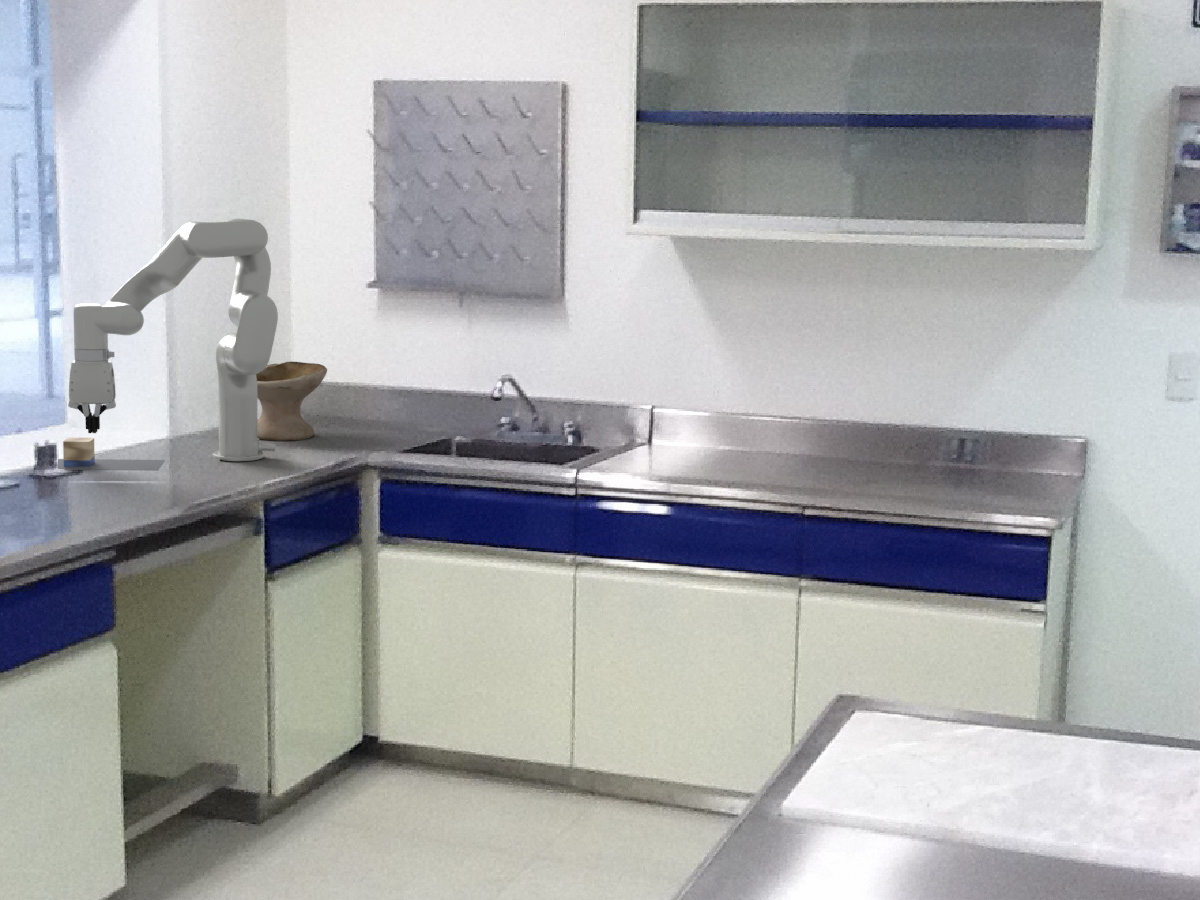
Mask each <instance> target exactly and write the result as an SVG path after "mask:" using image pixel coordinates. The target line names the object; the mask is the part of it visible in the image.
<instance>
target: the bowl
mask: <svg viewBox="0 0 1200 900" xmlns="http://www.w3.org/2000/svg"><path fill="white" fill-rule="evenodd" d="M327 373H328V368H327V367H326V366H325V365H323V364H320V363H314V362H313V363H311V362H300V361H285V362H280V363H271V364H270V363H269V364H267V366H266V367H265V369H264V370H263V371H261V372H260V373H258V374H256V377H257V388H258V397H257V400H259V402H260V405H261V413H260V417H259V418H257V438H259V440H266V441H284V442H285V441H288V442H293V441H295V442H296V441H301V440H307V439H311V438H312V437H315V430H314V428H313V427H312V426H311V425H310V424H309V423H308V422H306V420H305V419H304V418H303V416H302V415H301V406H302V403H303V401H304V400H305V398H306V397H308V396H309V395H310V394H311V393H312V392H315V390H316V389H317V388H318V387H319V386H320V385H321V384H322V382H323V380H324V379H325V377H326V376H327Z"/></svg>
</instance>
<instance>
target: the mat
mask: <svg viewBox="0 0 1200 900" xmlns="http://www.w3.org/2000/svg"><path fill="white" fill-rule="evenodd" d="M57 459H58V469H65V470H66V471H67V470H68V471H70V470H71V471H75V470H76V471H78V470H80V471H159V470H160V468H161V467H162V465H164V463H165V461H166V460H165V459H117V458H116V459H113V458H112V459H108V458H107V459H105V458H103V459H102V458H101V459H100V458H99V459H97V458H95V462H94V463H93V464H92V465H91V466H90V467H75V466H64V458H57ZM65 470H64V471H65Z"/></svg>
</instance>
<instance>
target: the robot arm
mask: <svg viewBox="0 0 1200 900" xmlns="http://www.w3.org/2000/svg"><path fill="white" fill-rule="evenodd" d="M268 241H269V234H268V231H267V229H266V227H265V225H263V224H262V223H261V222H259V221H257V220H254V219H246V218H232V219H230V220H227V221H219V222H218V221H215V222H214V221H213V222H209V221H208V222H206V221H205V222H204V221H189V222H185V224H183V225H182V226H181V227H180V228H179V229H177V231H176V232H175V233H174V234H173V235H172V236H171V237H170V238H169V240H168V241H167V242H166V243H165V244H164V245H163V246H162V248H161V249H160V250H159V251H158V252H157V253H156V254H155V255H154V256H153V257H152V259H151V260H149V262H148V263H147V264H145V265H144V266H143V267H142V268H140V270H139V271H137V272H136V273H135V274H134V275H133V276H132V277H130V278H129V279H128V280H127V281H126V282H124V284H123V285H122V286H121V287H120V288H119V289H118V290H117V291H116V292H115V293H114V294H113V295H112V297H110V299H109V300H108V301H107V302H106V303H105V305H103V304H101V303H79V304H76V305H75V306H74V308H73V342H74V344H73V345H74V346H73V347H74V349H73V350H74V351H73V352H74V360H72V361H71V364H70V370H69V379H68V380H69V381H68V400H69V401H68V407H69V408H71V409H73V410H74V409H75V410H79V412H80V413H81V414H83V416H84V417H85V418H84V419H85V429H86V430H87V433H88V434H97V432H98V430H100V429H101V421H100V416H101V415H102V414H103V413H104V412H105V411H107V410H112V409H115V408H116V407H117V404H116V400H115V399H116V396H117V395H116V381H115V370H114V366H113V362H112V361H110V360H109V359H110V358H115V351H111V350H109V338H108V337H109V334H110V335H118V336H119V335H120V336H132V335H136V334H137V333H139V331H141V330H142V328H143V326H144V322H145V319H144V315H143V313H142V310H144V309H145V308H146V307H147V306H148V305H149V304H150V303H151V302H153V301H154V300H155V299H157V298H158V297H161V295H164V294H167V293H168V292H171V291H172V290H174V289H175V288H176V287H178V286H179V285H180V284H181V283H182V281H183V280H184V279H185V278H186V277H187V276H188V275H189V274H190V272H191V271H192V270H193V269H194V268H195V266H196V265H197V264H198V263H200V262H201V260H202V259H203V258H204V259H206V258H209V259H210V258H211V259H212V258H229V257H233V258H234V262H235V274H234V275H235V276H234V282H233V286H232V287H233V288H232V292H231V295H230V296H231V297H230V299H229V300H230V301H229V304H228V312H227V313H228V318H229V320H230V322H231V323H232V324H233V325H234V326H236V327H237V329H236V332H233V333H229V334H227V335H225V336H223V337H222V338H221V339H220V341H218V344H217V346H216V349H215V350H216V351H215V361H216V368H217V376H218V377H217V380H218V450H216V451H214V452H212V457H213V459H217V460H218V459H219V460H220V461H226V462H251V461H258V460H262V459H263V458H264V456H265V455H264V452H276V444H275V443H268V442H267V443H263V442H260V439H259V438H257V420H258V398H257V397H258V388H257V377H256V374H258V373H260V372H261V371H263V370H264V369H265V367H266V366H267V365H269V363H270V358H271V355H272V352H273V347H274V342H275V338H276V337H275V335H276V333H277V332H276V331H277V326H278V320H279V315H278V308H277V305H276V303H275V301H274V300H273V299H272V298H271V297H269V289H270V281H271V275H272V265H271V263H272V262H271V259H270V254H269V252H268V250H267V248H266V247H267V245H268V243H269V242H268ZM91 405H94V412H93V413H92V412H91V411H92V410H91Z"/></svg>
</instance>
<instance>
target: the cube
mask: <svg viewBox="0 0 1200 900" xmlns="http://www.w3.org/2000/svg"><path fill="white" fill-rule="evenodd" d="M62 444H63V447H62V449H63V459H64V466H75V467H90V466H91V465H92V464H93V463H94V462H95V459H96V457H95V455H96V454H95V437H66V438H65V439H64V440H63V441H62Z"/></svg>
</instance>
